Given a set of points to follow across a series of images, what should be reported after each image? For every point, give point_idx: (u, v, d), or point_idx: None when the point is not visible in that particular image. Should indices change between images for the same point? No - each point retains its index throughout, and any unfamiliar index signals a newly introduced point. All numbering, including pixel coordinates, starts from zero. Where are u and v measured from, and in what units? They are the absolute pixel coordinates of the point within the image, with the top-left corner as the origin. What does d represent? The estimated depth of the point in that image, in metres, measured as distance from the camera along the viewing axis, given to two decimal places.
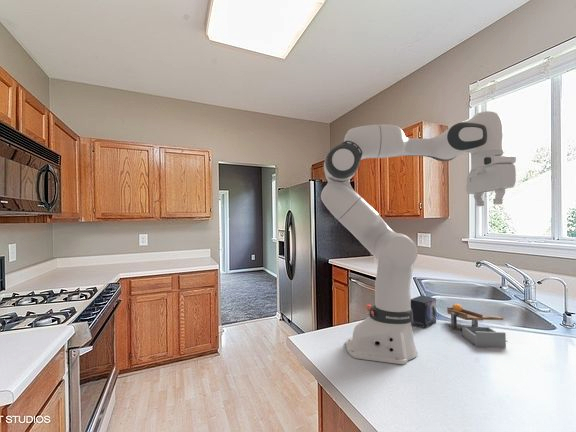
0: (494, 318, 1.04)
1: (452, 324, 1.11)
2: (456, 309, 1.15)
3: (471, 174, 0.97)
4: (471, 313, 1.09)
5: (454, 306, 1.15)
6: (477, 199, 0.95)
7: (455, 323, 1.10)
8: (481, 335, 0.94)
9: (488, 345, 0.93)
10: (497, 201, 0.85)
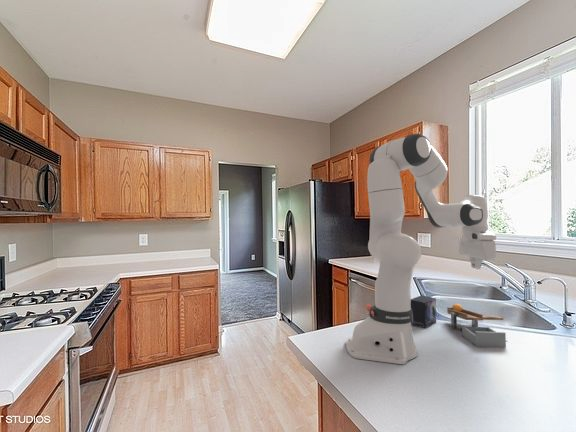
0: (494, 318, 1.04)
1: (452, 324, 1.11)
2: (456, 309, 1.15)
3: (462, 240, 1.21)
4: (471, 313, 1.09)
5: (454, 306, 1.15)
6: (472, 262, 1.16)
7: (455, 323, 1.10)
8: (481, 335, 0.94)
9: (488, 345, 0.93)
10: (476, 266, 1.12)
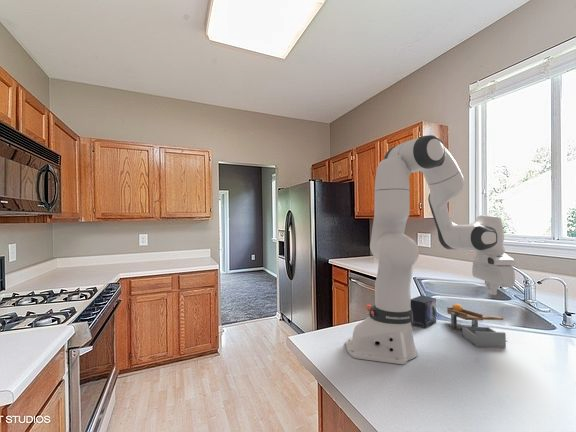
0: (494, 318, 1.04)
1: (452, 324, 1.11)
2: (456, 309, 1.15)
3: (476, 262, 1.12)
4: (471, 313, 1.09)
5: (454, 306, 1.15)
6: (488, 287, 1.07)
7: (455, 323, 1.10)
8: (481, 335, 0.94)
9: (488, 345, 0.93)
10: (492, 292, 1.04)
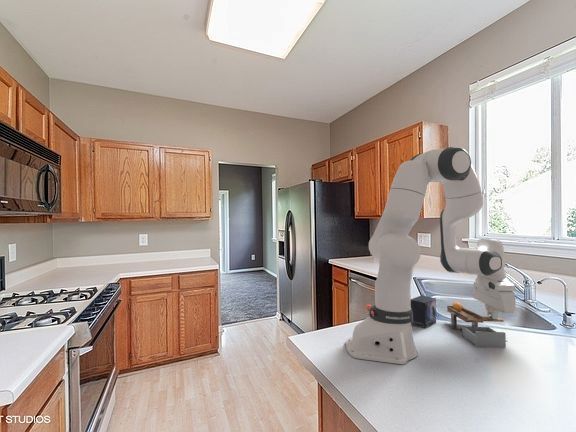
0: (494, 320, 1.04)
1: (452, 324, 1.11)
2: (456, 308, 1.14)
3: (477, 284, 1.12)
4: (471, 313, 1.09)
5: (454, 305, 1.15)
6: (488, 310, 1.07)
7: (455, 323, 1.10)
8: (481, 335, 0.94)
9: (488, 345, 0.93)
10: (493, 316, 1.04)
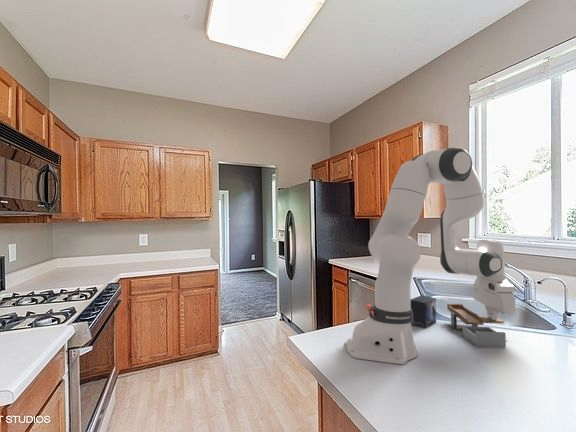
0: (494, 321, 1.04)
1: (452, 324, 1.11)
2: None
3: (477, 285, 1.12)
4: (471, 314, 1.09)
5: None
6: (488, 311, 1.07)
7: (455, 323, 1.10)
8: (481, 335, 0.94)
9: (488, 345, 0.93)
10: (493, 317, 1.04)
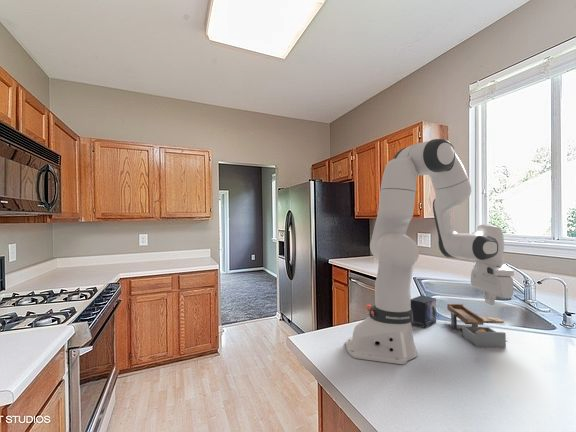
0: (494, 321, 1.04)
1: (452, 324, 1.11)
2: (480, 331, 0.98)
3: (475, 271, 1.12)
4: (471, 314, 1.09)
5: None
6: (486, 296, 1.07)
7: (455, 323, 1.10)
8: (481, 335, 0.94)
9: (488, 345, 0.93)
10: (490, 302, 1.04)
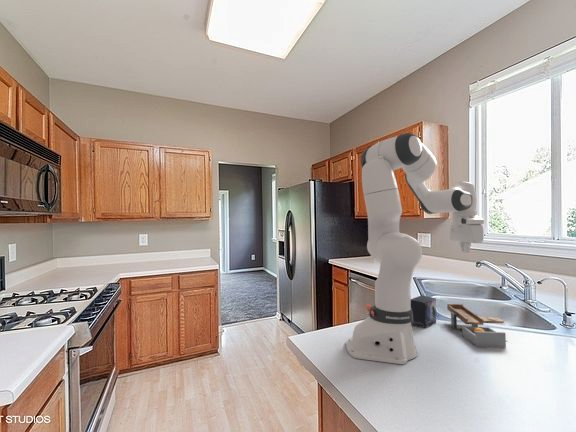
0: (494, 321, 1.04)
1: (452, 324, 1.11)
2: (475, 328, 1.01)
3: (453, 226, 1.25)
4: (471, 314, 1.09)
5: (474, 331, 1.01)
6: (462, 246, 1.20)
7: (455, 323, 1.10)
8: (481, 335, 0.94)
9: (488, 345, 0.93)
10: (465, 250, 1.17)
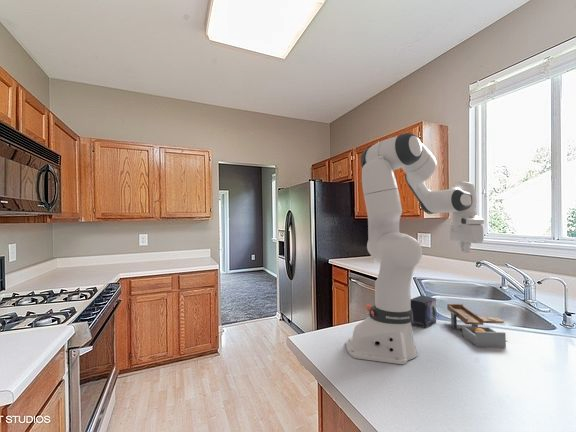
0: (494, 321, 1.04)
1: (452, 324, 1.11)
2: (477, 329, 1.00)
3: (453, 226, 1.25)
4: (471, 314, 1.09)
5: None
6: (462, 246, 1.20)
7: (455, 323, 1.10)
8: (481, 335, 0.94)
9: (488, 345, 0.93)
10: (465, 250, 1.17)
